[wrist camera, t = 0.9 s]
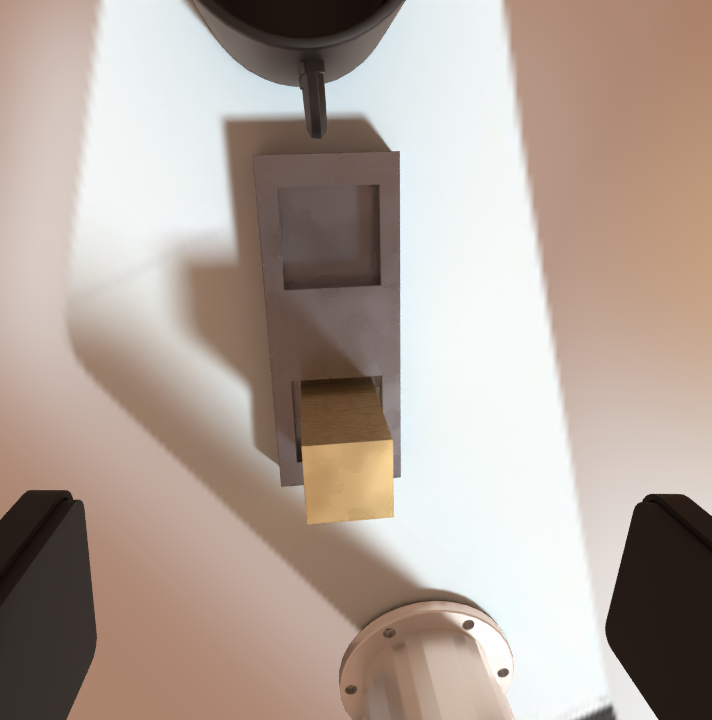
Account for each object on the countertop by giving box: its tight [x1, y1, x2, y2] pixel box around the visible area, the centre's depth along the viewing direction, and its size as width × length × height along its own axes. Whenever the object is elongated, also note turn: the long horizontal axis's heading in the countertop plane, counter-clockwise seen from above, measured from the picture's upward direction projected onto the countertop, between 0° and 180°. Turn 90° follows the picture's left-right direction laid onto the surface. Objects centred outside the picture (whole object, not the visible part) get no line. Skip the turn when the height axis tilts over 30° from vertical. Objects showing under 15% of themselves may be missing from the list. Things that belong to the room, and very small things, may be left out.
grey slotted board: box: [253, 151, 401, 487], centre depth 30 cm, size 18×7×2 cm, turn 2°
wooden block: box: [301, 376, 394, 525], centre depth 28 cm, size 4×4×8 cm
